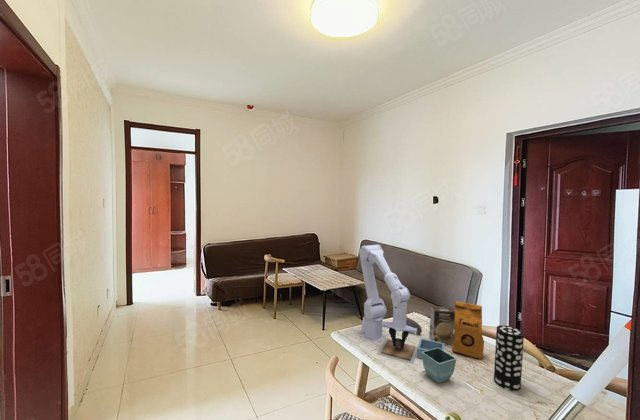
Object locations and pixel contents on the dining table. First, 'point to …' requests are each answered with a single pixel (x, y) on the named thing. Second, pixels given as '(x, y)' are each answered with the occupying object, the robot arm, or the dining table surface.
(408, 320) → the perforated stone tool
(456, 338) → the coffee package
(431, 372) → the flower pot
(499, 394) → the dining table surface
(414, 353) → the mat
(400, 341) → the lid
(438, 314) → the coffee box
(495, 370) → the white-spotted black cylinder
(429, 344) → the dish
